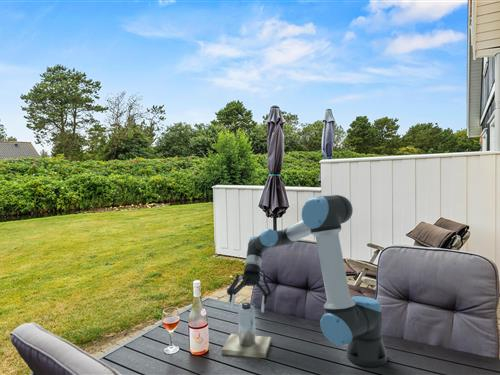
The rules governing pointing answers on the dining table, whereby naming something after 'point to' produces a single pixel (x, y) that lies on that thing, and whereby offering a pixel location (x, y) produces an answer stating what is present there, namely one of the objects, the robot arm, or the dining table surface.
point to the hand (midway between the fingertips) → (246, 310)
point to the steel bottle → (246, 324)
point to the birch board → (253, 351)
